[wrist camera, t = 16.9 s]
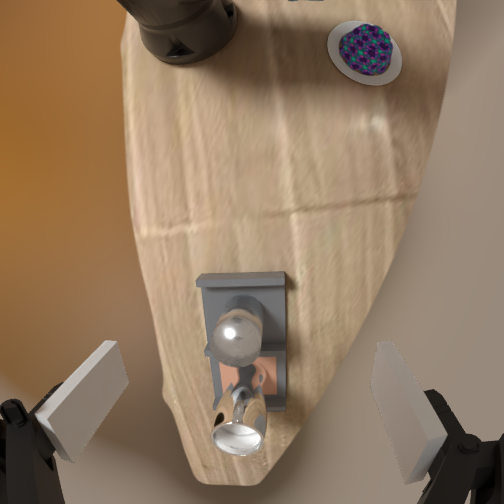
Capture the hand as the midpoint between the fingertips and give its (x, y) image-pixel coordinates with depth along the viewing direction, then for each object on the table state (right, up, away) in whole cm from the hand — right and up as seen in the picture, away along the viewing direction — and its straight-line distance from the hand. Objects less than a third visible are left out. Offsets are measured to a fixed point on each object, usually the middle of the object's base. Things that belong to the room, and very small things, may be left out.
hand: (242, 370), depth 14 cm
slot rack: (0, -9, +32) cm, 33 cm away
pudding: (+18, +36, +22) cm, 46 cm away
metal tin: (-1, -3, +30) cm, 30 cm away
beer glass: (0, -14, +32) cm, 35 cm away
